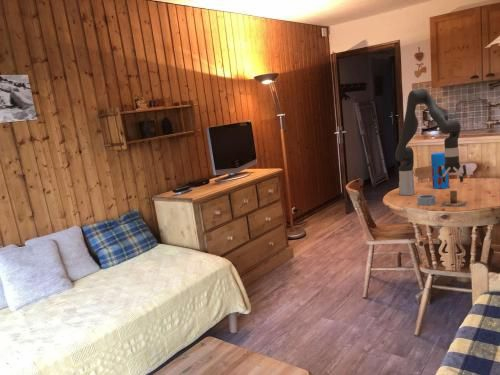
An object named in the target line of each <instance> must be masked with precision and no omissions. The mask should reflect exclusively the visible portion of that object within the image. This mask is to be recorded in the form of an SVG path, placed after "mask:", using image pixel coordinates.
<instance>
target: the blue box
mask: <svg viewBox="0 0 500 375" xmlns="http://www.w3.org/2000/svg"><path fill="white" fill-rule="evenodd" d="M430 162H431V164H430V166H431V180H432V181H431V183H432V189H434V190H445V189H446V190H447V189H449V188H450V173H449V172H448V173H447V174H446V175H445V176H446V183H444V182H443V177H442V176H439V166H440V165H441V166H445V155H444V151H443V152H433V153H431V154H430ZM445 171H446V169H445V168H443V169H442V174H444V173H445Z"/></svg>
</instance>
